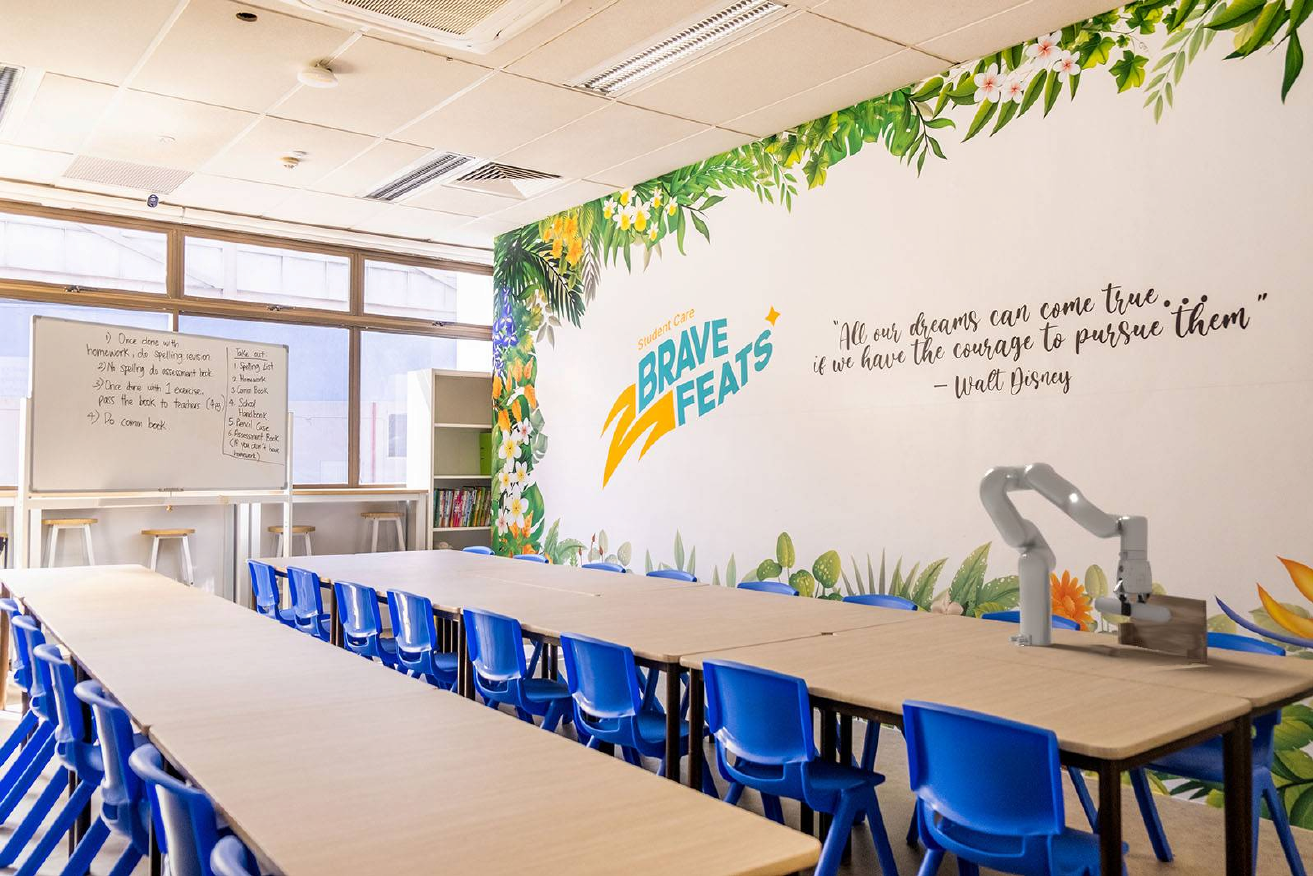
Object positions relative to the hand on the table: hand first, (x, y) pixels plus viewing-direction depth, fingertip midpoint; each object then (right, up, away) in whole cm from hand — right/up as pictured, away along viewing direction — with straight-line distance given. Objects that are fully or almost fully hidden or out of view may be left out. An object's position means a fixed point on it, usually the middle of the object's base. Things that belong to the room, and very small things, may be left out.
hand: (1133, 614), depth 308 cm
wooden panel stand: (+10, -13, +2) cm, 16 cm away
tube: (0, -1, 0) cm, 1 cm away
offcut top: (-10, -11, -5) cm, 16 cm away
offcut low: (-10, -13, -5) cm, 17 cm away
